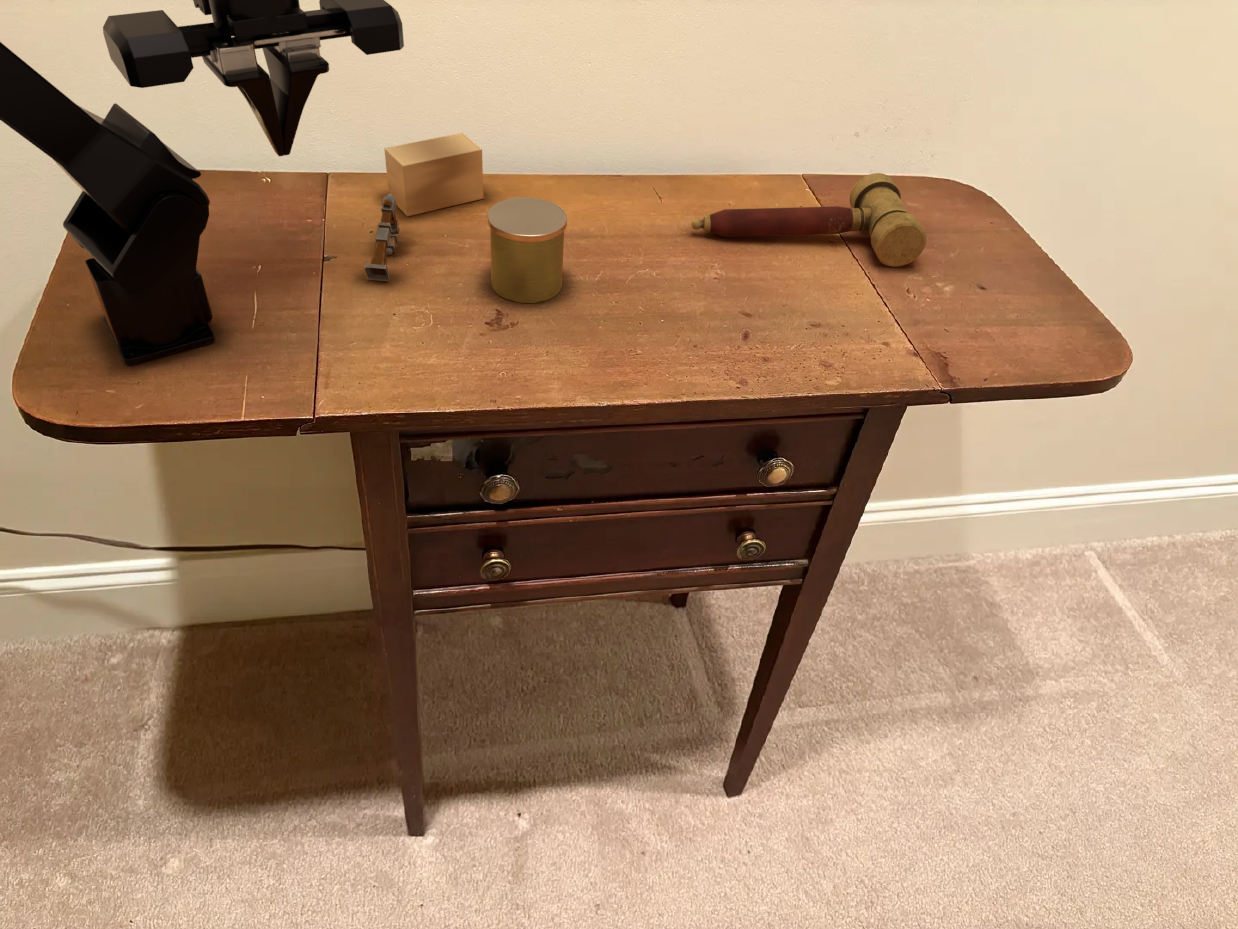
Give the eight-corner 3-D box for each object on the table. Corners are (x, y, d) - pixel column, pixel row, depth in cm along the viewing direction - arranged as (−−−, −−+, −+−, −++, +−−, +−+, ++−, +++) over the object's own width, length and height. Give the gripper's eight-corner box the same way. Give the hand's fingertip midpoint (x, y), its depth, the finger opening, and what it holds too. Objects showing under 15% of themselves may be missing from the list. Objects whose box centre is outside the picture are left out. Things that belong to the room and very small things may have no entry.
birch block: (407, 216, 85) (402, 165, 82) (389, 198, 88) (383, 147, 84) (483, 198, 89) (482, 149, 86) (464, 181, 91) (462, 132, 88)
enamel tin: (512, 312, 75) (512, 242, 71) (475, 275, 79) (473, 206, 75) (578, 292, 78) (582, 224, 74) (539, 257, 82) (540, 190, 78)
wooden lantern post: (407, 222, 83) (399, 188, 79) (394, 297, 80) (385, 267, 75) (387, 220, 83) (378, 187, 78) (373, 296, 80) (363, 265, 75)
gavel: (700, 228, 81) (686, 176, 88) (696, 273, 84) (683, 220, 91) (932, 222, 82) (899, 171, 90) (920, 266, 85) (889, 214, 93)
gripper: (332, -120, 67) (357, 94, 78) (50, -105, 59) (121, 133, 69) (397, -81, 61) (415, 146, 71) (91, -57, 52) (163, 197, 63)
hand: (282, 153), depth 69 cm, fingers closed
